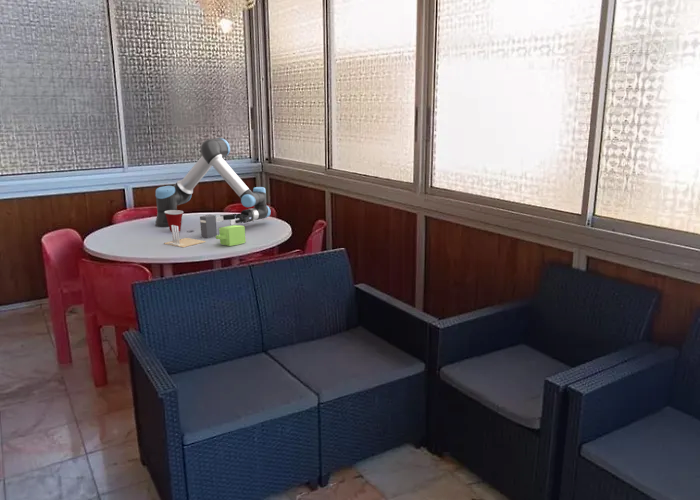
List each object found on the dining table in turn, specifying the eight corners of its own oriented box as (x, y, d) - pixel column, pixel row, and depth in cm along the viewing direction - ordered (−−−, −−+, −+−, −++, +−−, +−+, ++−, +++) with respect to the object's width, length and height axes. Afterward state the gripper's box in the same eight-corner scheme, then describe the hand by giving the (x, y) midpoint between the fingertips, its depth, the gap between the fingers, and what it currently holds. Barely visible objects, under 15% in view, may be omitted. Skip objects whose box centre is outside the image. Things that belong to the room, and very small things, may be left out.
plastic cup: (179, 233, 340) (178, 213, 337) (162, 233, 342) (160, 212, 340) (188, 229, 351) (186, 209, 348) (171, 229, 353) (169, 209, 350)
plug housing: (201, 237, 329) (199, 216, 326) (211, 235, 334) (209, 214, 332) (207, 238, 326) (205, 217, 323) (217, 236, 332) (215, 215, 329)
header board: (163, 243, 316) (162, 224, 313) (186, 238, 327) (184, 220, 325) (183, 247, 307) (181, 228, 304) (205, 241, 318) (204, 223, 316)
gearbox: (240, 240, 324) (238, 223, 322) (252, 241, 318) (250, 224, 316) (213, 245, 311) (212, 227, 309) (225, 247, 304) (224, 229, 302)
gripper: (264, 223, 347) (238, 230, 330) (235, 219, 361) (208, 225, 345) (263, 211, 345) (237, 216, 328) (234, 207, 359) (207, 212, 343)
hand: (222, 221), depth 336 cm, fingers open, 13 cm apart
